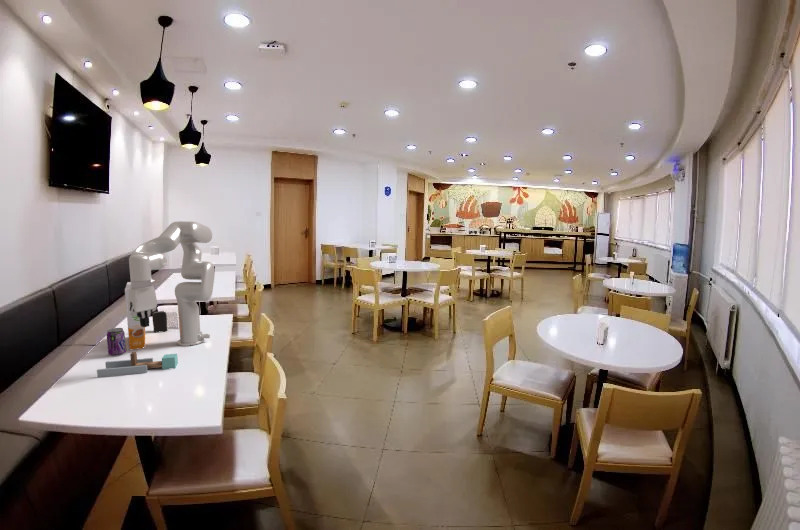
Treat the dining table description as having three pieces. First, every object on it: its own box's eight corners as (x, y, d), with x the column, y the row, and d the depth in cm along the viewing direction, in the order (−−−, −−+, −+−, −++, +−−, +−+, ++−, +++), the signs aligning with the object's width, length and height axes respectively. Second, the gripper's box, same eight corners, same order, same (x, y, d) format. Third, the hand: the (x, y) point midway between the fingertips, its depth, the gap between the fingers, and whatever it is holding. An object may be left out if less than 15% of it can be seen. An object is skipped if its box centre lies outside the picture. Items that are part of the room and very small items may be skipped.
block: (177, 364, 188) (177, 353, 187) (175, 368, 183) (174, 357, 182) (165, 365, 186) (164, 354, 186) (162, 369, 182) (161, 358, 181)
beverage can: (117, 357, 196) (115, 332, 194) (104, 356, 197) (102, 331, 195) (129, 352, 203) (127, 328, 201) (117, 351, 204) (115, 327, 202)
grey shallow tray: (153, 364, 187) (152, 357, 187) (146, 372, 178) (146, 365, 177) (106, 368, 182) (106, 361, 182) (97, 377, 173) (96, 370, 172)
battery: (167, 329, 240) (166, 309, 239) (167, 331, 237) (166, 311, 235) (153, 331, 237) (152, 311, 235) (153, 332, 233) (151, 312, 232)
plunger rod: (164, 364, 185) (163, 349, 184) (163, 367, 182) (161, 351, 182) (133, 367, 182) (132, 352, 181) (131, 369, 179) (130, 354, 178)
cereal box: (144, 347, 209) (140, 288, 205) (129, 349, 206) (124, 289, 202) (145, 335, 228) (141, 281, 224) (131, 337, 225) (127, 282, 221)
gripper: (152, 280, 185) (155, 321, 188) (117, 286, 172) (121, 329, 175) (163, 282, 182) (167, 323, 185) (129, 288, 169) (133, 332, 172)
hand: (145, 326), depth 180 cm, fingers closed
